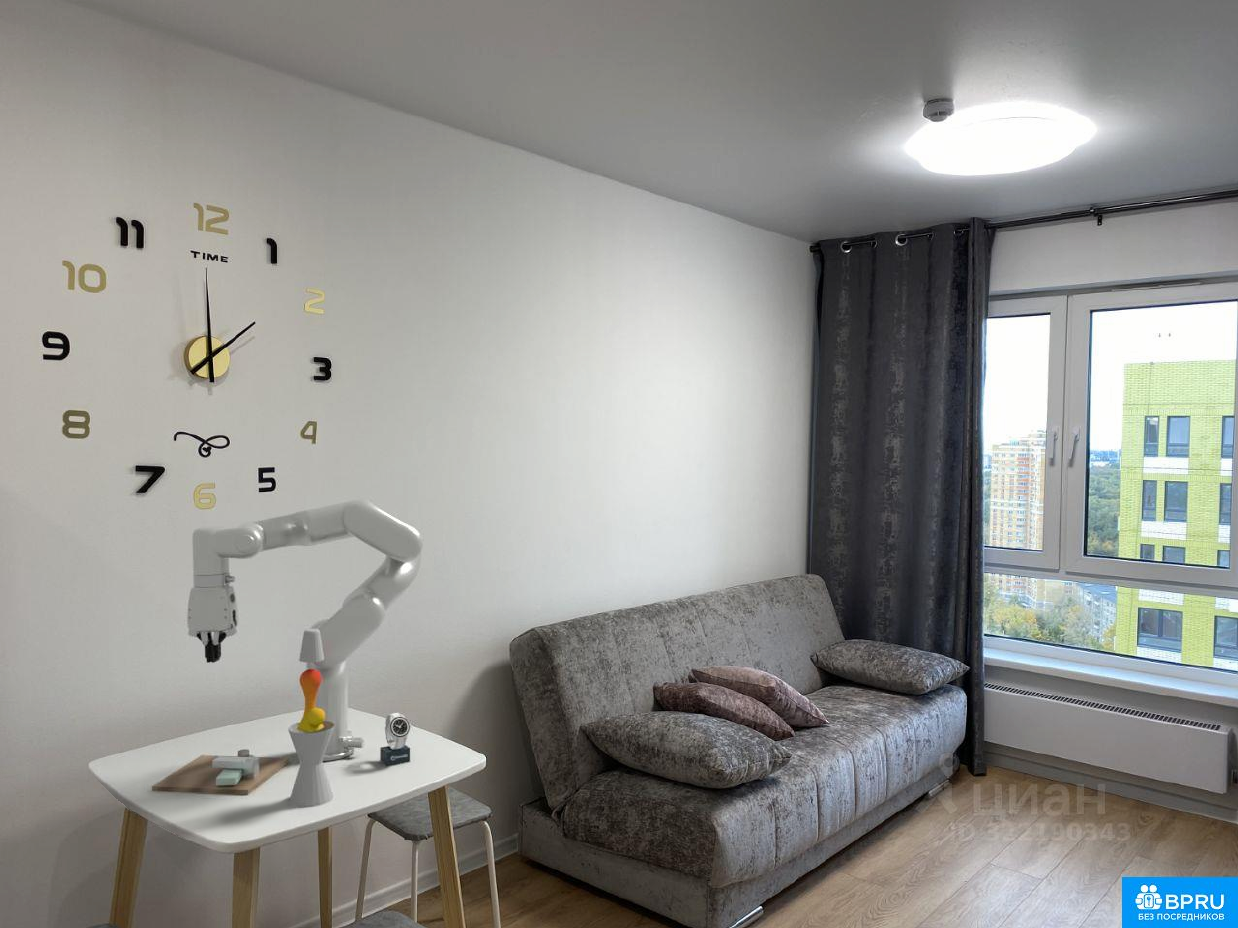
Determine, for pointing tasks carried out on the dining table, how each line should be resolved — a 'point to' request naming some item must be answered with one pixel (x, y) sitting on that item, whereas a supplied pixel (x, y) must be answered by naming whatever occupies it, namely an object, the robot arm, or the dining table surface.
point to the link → (230, 776)
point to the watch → (396, 740)
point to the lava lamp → (311, 732)
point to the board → (203, 776)
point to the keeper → (239, 765)
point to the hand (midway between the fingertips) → (213, 661)
